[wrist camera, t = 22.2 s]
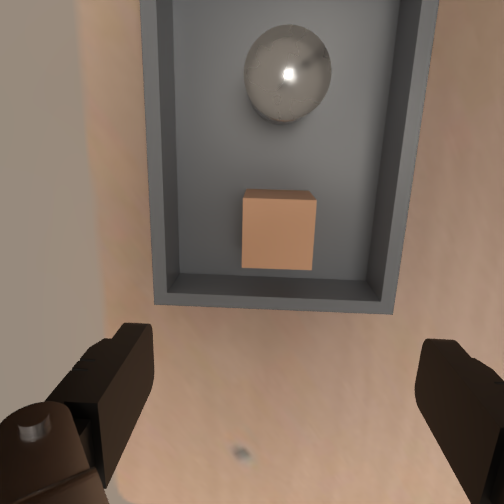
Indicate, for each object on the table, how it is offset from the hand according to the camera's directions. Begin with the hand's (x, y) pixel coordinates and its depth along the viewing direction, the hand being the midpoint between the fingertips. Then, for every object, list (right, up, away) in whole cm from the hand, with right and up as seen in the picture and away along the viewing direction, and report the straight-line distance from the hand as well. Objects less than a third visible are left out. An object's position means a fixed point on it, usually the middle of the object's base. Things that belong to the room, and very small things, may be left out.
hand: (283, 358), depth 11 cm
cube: (+1, +6, +20) cm, 21 cm away
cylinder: (+1, +15, +17) cm, 23 cm away
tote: (+1, +12, +19) cm, 22 cm away
